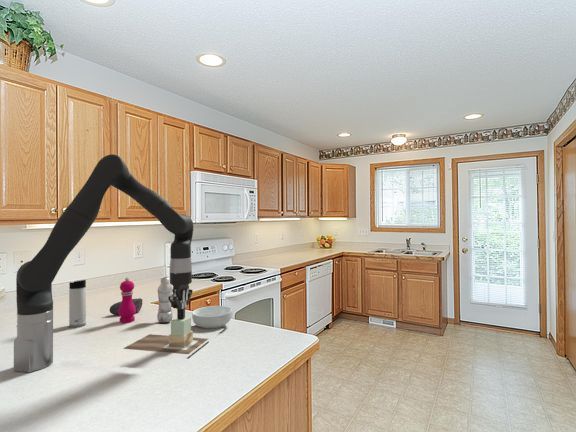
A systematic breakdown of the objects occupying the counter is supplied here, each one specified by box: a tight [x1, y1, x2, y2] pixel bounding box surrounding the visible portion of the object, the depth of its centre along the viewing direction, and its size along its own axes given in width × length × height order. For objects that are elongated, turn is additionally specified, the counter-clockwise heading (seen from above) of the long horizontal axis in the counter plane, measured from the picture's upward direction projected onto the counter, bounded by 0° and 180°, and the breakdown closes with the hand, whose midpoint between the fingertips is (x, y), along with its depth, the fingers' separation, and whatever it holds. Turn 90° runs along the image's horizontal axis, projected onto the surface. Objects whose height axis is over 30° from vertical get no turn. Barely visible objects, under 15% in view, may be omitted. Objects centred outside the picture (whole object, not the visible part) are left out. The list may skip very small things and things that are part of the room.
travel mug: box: [68, 279, 87, 329], centre depth 150 cm, size 6×7×20 cm
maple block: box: [168, 330, 194, 348], centre depth 122 cm, size 6×6×4 cm
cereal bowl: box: [191, 305, 233, 329], centre depth 147 cm, size 17×17×7 cm
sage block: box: [170, 316, 192, 336], centre depth 122 cm, size 5×5×5 cm
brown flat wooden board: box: [122, 333, 210, 360], centre depth 123 cm, size 15×25×2 cm, turn 77°
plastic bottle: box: [156, 276, 173, 324], centre depth 154 cm, size 6×7×20 cm
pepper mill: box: [118, 277, 137, 324], centre depth 156 cm, size 7×7×20 cm
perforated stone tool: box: [109, 297, 143, 316], centre depth 169 cm, size 15×5×7 cm, turn 117°
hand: (181, 318), depth 122 cm, fingers closed
